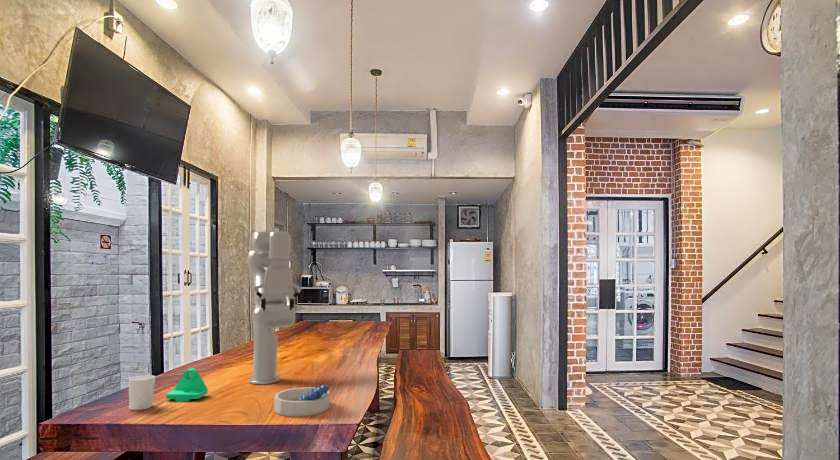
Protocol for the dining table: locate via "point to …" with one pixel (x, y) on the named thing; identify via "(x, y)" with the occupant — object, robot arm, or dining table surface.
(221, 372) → the dining table surface
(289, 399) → the fruit bowl
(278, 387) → the dining table surface
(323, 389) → the blue gear
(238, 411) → the dining table surface
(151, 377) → the white cup
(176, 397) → the camera mount
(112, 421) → the dining table surface
